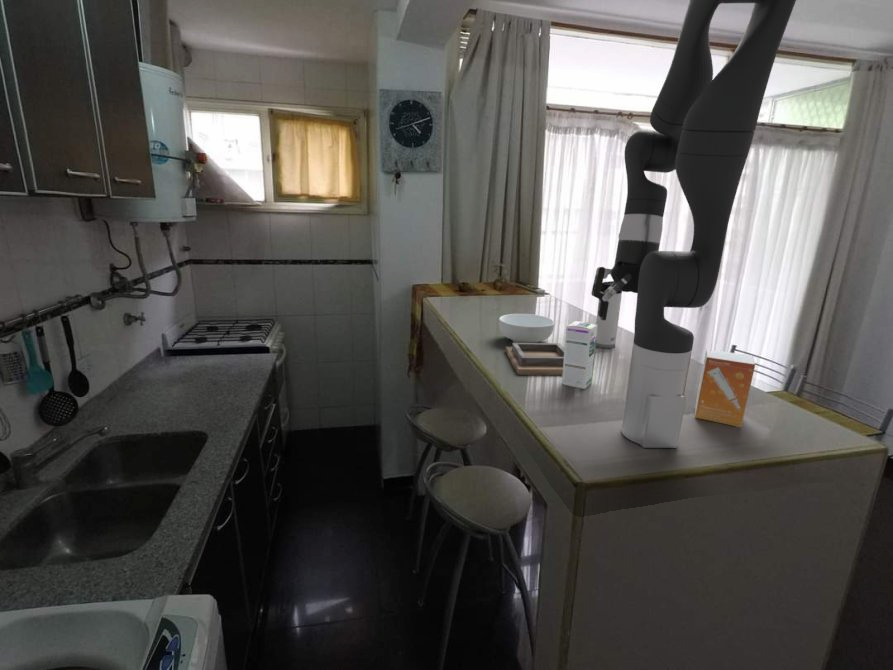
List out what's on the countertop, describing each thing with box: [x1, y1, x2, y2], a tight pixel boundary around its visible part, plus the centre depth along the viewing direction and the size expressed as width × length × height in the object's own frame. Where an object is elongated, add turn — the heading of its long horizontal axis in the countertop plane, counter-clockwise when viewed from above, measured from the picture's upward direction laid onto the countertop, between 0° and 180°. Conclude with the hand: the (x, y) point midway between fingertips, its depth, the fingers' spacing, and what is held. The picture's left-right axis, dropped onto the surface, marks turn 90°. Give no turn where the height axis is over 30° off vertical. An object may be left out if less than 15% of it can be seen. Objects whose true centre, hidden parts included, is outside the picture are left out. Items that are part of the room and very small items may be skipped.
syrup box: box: [561, 320, 597, 390], centre depth 105 cm, size 6×6×14 cm
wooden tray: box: [505, 342, 565, 376], centre depth 121 cm, size 19×16×4 cm
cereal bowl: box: [498, 313, 555, 343], centre depth 141 cm, size 17×17×7 cm
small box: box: [694, 349, 756, 428], centre depth 89 cm, size 8×6×13 cm
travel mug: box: [595, 280, 623, 349], centre depth 136 cm, size 6×7×20 cm
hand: (624, 322), depth 90 cm, fingers open, 8 cm apart
